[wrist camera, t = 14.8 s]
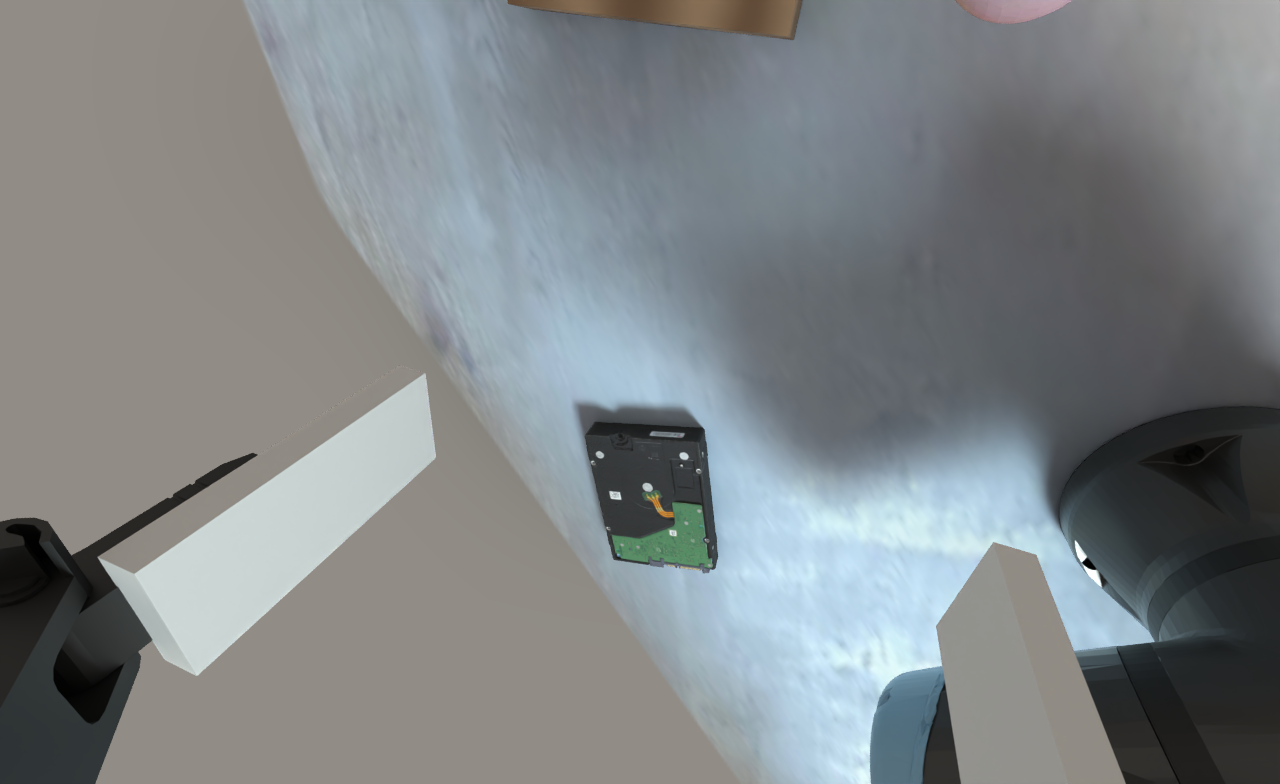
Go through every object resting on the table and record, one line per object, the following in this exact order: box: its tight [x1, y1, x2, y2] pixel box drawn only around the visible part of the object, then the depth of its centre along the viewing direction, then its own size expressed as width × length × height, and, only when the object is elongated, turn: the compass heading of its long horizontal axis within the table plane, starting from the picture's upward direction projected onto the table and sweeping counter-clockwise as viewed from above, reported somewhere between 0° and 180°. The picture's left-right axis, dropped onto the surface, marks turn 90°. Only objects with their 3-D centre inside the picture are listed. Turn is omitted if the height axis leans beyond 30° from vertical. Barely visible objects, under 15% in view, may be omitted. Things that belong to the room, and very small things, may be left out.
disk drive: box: [585, 422, 718, 573], centre depth 48 cm, size 10×3×15 cm
